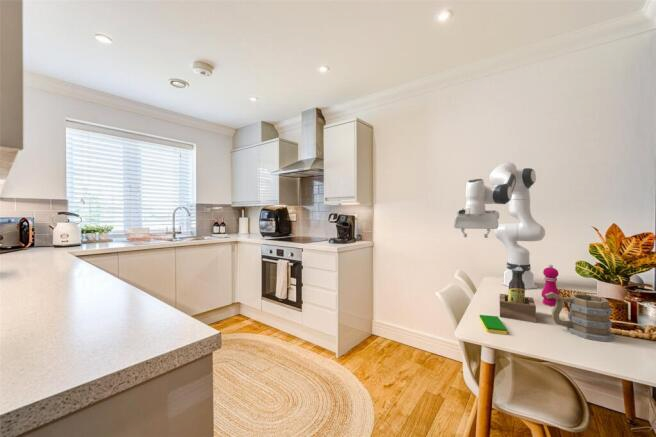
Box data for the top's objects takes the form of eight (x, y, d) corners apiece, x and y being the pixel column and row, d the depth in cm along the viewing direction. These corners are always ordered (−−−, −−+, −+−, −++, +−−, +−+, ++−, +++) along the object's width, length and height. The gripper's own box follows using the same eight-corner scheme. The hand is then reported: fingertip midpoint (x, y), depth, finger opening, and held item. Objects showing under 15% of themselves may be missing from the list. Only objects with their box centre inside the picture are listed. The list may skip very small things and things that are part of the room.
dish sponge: (486, 333, 108) (486, 327, 108) (479, 319, 121) (479, 314, 121) (507, 335, 106) (507, 329, 106) (497, 321, 119) (497, 316, 119)
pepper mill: (553, 301, 140) (553, 263, 139) (563, 306, 133) (564, 266, 132) (538, 301, 141) (538, 263, 140) (548, 306, 134) (548, 266, 133)
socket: (499, 307, 134) (499, 293, 133) (532, 312, 127) (532, 297, 126) (499, 316, 123) (499, 301, 122) (535, 322, 116) (535, 306, 115)
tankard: (602, 329, 108) (603, 292, 108) (619, 344, 97) (620, 302, 96) (540, 321, 117) (540, 287, 116) (549, 334, 106) (549, 295, 105)
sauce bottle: (509, 314, 123) (509, 270, 122) (506, 309, 129) (506, 267, 128) (527, 315, 121) (527, 271, 120) (522, 310, 127) (522, 268, 126)
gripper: (499, 210, 137) (499, 237, 137) (454, 210, 148) (455, 236, 148) (499, 210, 132) (499, 238, 132) (453, 211, 143) (453, 237, 143)
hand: (475, 237), depth 140 cm, fingers open, 8 cm apart
